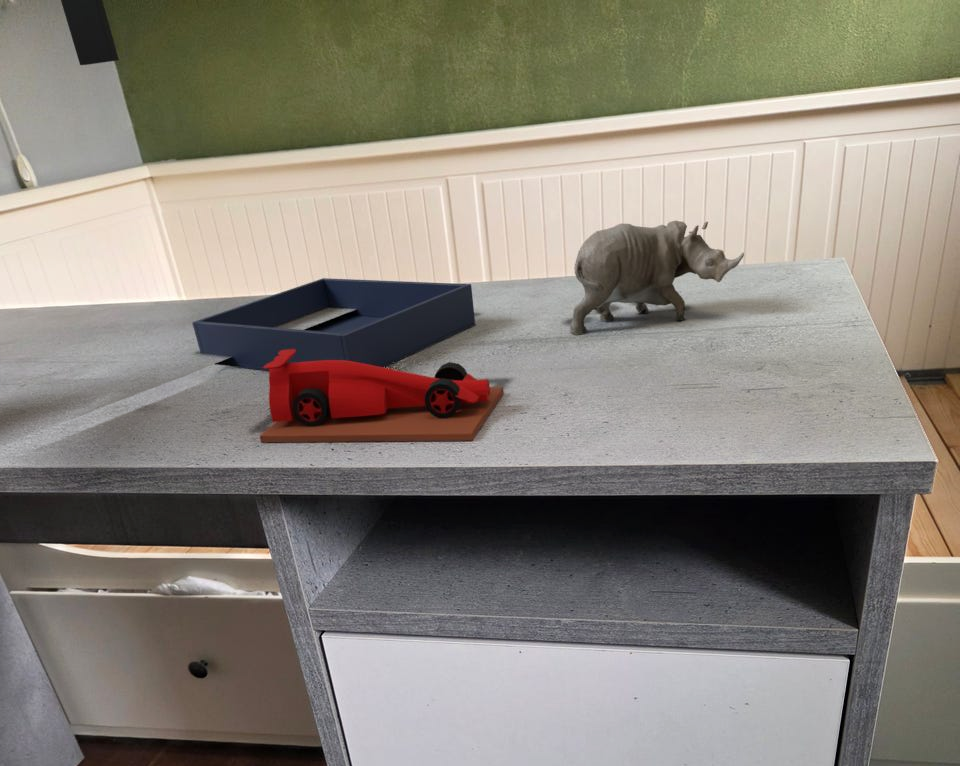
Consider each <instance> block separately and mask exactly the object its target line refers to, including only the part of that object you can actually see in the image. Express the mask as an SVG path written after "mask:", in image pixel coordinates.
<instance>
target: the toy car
mask: <svg viewBox="0 0 960 766" xmlns="http://www.w3.org/2000/svg"><path fill="white" fill-rule="evenodd" d="M295 353H296V350H295V349H289V350H281V351H280V352H279V353H278V355H279V356H277V357H275V358H274V361H272V362H270V363H268V364H266V365H265V366H264V369H270V371H268V382H269V389H268V405H269V411H270V417H271V421H272V423H275V422H279V421H292V420H293V419H294V418H295V417H296V418H297V419H298V421H299V422H301V423H303V424H304V425H306V426H317V425H319V424H321V423H322V422H323V421H324V420H325V418H326V417H327V415H328V414H329V412H331V417H332V418H343V417H358V416H370V415H379V414H385V412H386V411H387V409H388V408H398V407H414V406H426V408H427V410H428V411H429V412H430V413H431V414H432V415H434V416H436V417H438V418H448V417H450V416H452V415H454V414H455V412H456V411H457V410H458V408H459V405H460V403H475V402H485V401H488V399H489V397H488V396H490V387H491V386H490V380H489V379H477V378H476V377H474V376H472V375H471V374H469V373H468V372H467V370H466V369H465V367H464V366H462V365H461V364H460V363H457V362H452V361H449V362H446V363H444V364H441V366H440V367H438V369H437V370H436V372H435V374H434V377H432V376H428V375H422V374H418V373H413V372H407V371H402V370H397V369H393V368H388V367H384V368H383V367H378V366H374V365H369V364H364V363H359V362H353V361H346V360H322V361H308V362H294V363H287V361H288V360H289V359H290V358H291V357H292V356H293V355H294V354H295Z"/></svg>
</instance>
